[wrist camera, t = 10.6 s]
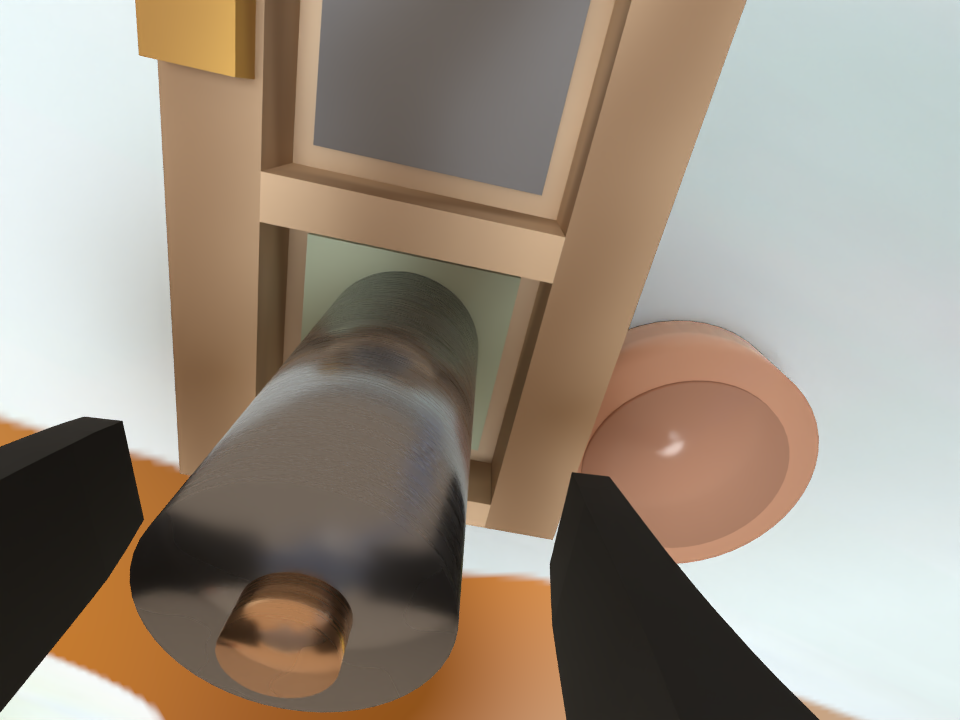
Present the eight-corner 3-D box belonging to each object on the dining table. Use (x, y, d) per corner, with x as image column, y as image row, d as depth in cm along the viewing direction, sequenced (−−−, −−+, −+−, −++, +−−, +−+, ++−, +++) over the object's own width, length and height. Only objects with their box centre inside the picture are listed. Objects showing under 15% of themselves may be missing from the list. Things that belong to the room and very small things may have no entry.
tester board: (738, -122, 10) (848, -225, 7) (544, 474, 17) (555, 562, 14) (227, -259, 10) (93, -442, 6) (229, 416, 16) (162, 493, 13)
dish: (824, 348, 15) (874, 384, 13) (724, 533, 18) (751, 585, 16) (582, 297, 14) (596, 327, 12) (521, 496, 17) (524, 545, 15)
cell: (486, 281, 13) (472, 546, 5) (470, 419, 15) (440, 773, 7) (323, 262, 13) (56, 503, 5) (326, 403, 14) (131, 744, 7)
